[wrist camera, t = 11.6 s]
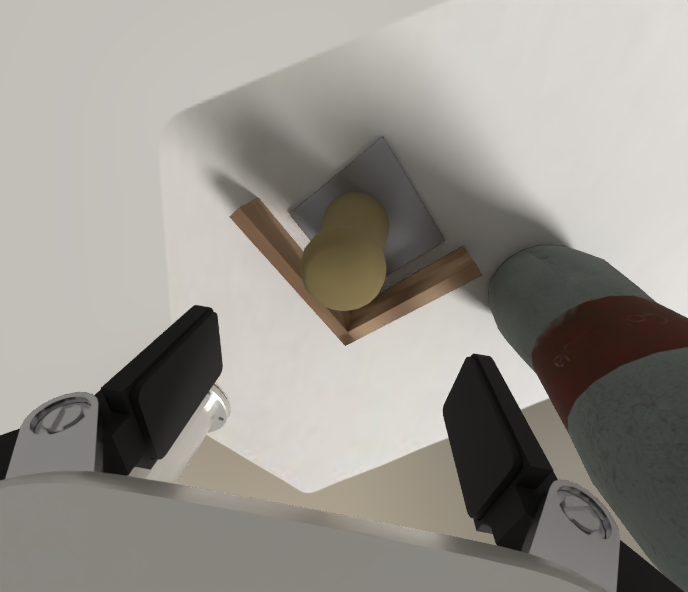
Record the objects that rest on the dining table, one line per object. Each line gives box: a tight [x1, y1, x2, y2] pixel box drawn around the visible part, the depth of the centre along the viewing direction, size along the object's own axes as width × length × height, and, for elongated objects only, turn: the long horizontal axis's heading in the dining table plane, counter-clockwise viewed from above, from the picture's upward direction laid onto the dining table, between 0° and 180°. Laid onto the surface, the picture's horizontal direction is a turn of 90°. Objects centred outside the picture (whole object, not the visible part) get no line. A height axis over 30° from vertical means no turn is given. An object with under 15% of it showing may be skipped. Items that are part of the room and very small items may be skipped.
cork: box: [301, 192, 390, 311], centre depth 20 cm, size 6×6×11 cm
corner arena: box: [230, 137, 482, 346], centre depth 24 cm, size 14×15×4 cm
